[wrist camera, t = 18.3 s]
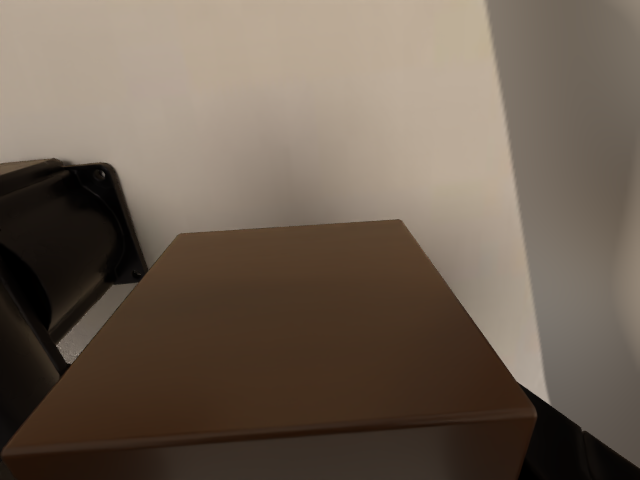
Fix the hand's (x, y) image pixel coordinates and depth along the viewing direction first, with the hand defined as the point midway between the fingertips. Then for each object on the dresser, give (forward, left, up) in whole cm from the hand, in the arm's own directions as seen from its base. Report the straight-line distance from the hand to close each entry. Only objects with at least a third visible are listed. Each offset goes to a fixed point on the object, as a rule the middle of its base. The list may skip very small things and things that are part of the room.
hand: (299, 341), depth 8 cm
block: (0, 0, -1) cm, 1 cm away
